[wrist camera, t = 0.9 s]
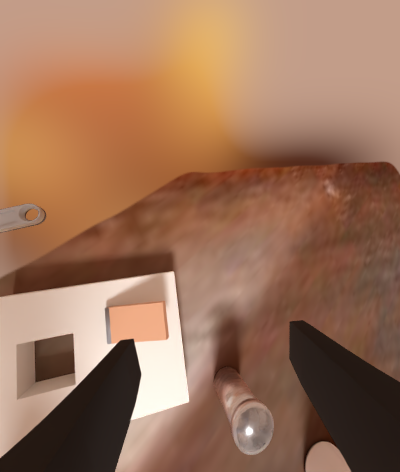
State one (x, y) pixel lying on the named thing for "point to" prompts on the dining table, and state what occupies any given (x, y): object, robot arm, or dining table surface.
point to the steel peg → (244, 412)
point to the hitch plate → (83, 348)
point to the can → (325, 459)
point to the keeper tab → (137, 322)
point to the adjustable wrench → (19, 217)
